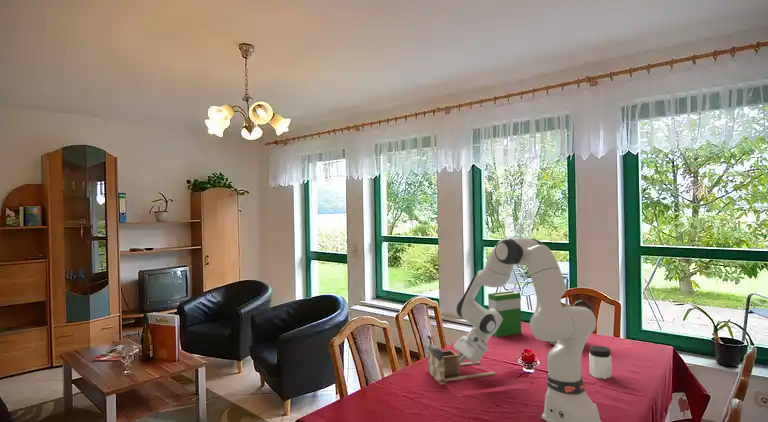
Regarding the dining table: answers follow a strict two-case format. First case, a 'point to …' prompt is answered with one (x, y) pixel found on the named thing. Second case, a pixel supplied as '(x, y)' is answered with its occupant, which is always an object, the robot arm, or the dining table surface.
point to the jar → (600, 362)
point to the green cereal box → (507, 312)
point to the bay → (438, 365)
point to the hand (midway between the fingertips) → (456, 363)
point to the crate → (451, 363)
